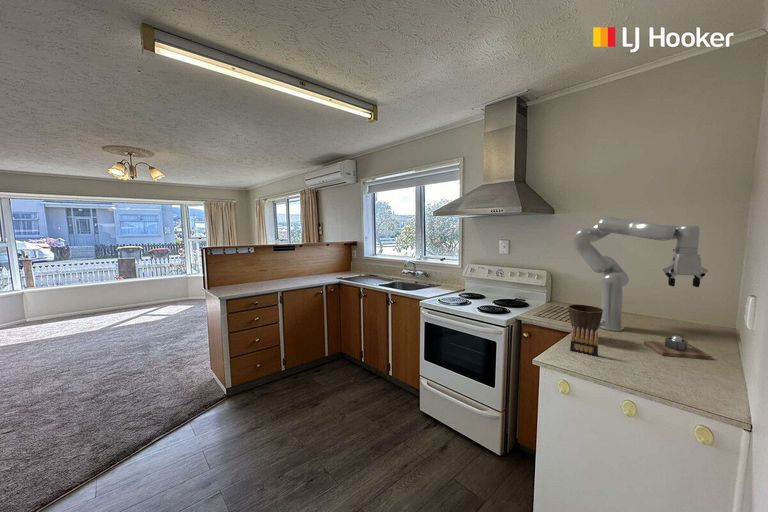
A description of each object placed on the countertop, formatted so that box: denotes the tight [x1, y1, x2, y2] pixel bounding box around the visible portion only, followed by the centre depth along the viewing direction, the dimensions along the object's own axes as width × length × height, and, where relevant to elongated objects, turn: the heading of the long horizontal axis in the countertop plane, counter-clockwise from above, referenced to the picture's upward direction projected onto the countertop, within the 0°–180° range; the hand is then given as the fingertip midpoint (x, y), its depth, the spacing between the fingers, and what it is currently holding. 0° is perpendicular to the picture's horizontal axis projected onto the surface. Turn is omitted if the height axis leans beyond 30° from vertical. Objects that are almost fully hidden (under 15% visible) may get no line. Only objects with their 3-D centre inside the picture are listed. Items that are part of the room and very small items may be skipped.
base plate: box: [643, 340, 713, 360], centre depth 141 cm, size 18×14×2 cm
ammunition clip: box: [569, 326, 599, 358], centre depth 139 cm, size 11×2×12 cm, turn 50°
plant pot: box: [568, 304, 603, 340], centre depth 157 cm, size 15×15×16 cm
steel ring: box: [664, 336, 689, 351], centre depth 140 cm, size 7×7×4 cm
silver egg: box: [671, 335, 683, 342], centre depth 140 cm, size 4×4×6 cm
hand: (683, 286), depth 147 cm, fingers open, 9 cm apart
